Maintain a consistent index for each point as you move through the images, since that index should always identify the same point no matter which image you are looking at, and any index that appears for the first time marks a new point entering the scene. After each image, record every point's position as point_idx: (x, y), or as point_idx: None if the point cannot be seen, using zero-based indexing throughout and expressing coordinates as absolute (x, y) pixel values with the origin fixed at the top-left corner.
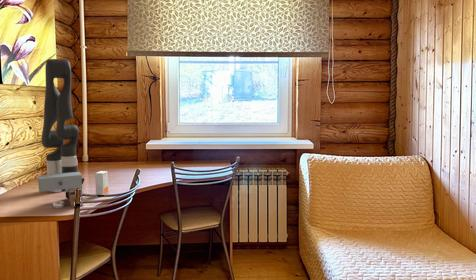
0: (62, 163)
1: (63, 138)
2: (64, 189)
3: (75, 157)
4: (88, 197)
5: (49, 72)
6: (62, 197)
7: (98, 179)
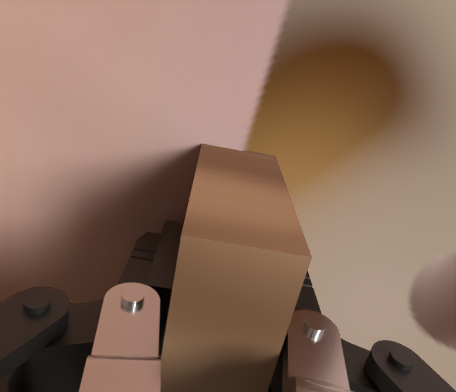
0: None
1: None
2: (71, 382)
3: None
4: (441, 270)
5: None
6: (125, 8)
7: None
